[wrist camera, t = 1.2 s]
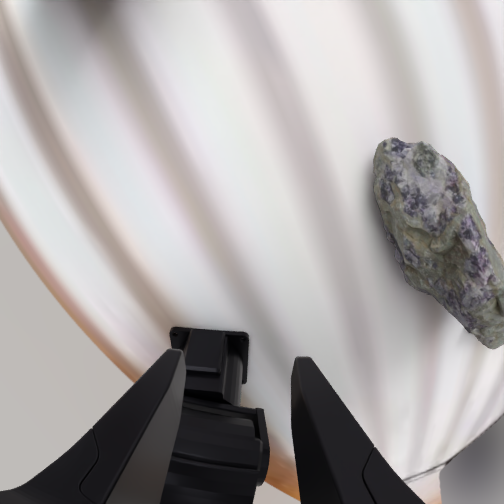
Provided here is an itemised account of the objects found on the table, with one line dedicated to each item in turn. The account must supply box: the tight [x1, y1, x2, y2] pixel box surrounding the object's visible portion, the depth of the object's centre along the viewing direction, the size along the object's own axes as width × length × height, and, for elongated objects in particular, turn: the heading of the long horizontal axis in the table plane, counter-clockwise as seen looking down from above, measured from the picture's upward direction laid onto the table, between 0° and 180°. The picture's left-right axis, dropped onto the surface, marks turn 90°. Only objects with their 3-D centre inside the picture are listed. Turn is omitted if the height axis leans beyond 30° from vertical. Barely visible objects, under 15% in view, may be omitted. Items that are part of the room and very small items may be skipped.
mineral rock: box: [373, 138, 504, 349], centre depth 15 cm, size 13×11×10 cm
